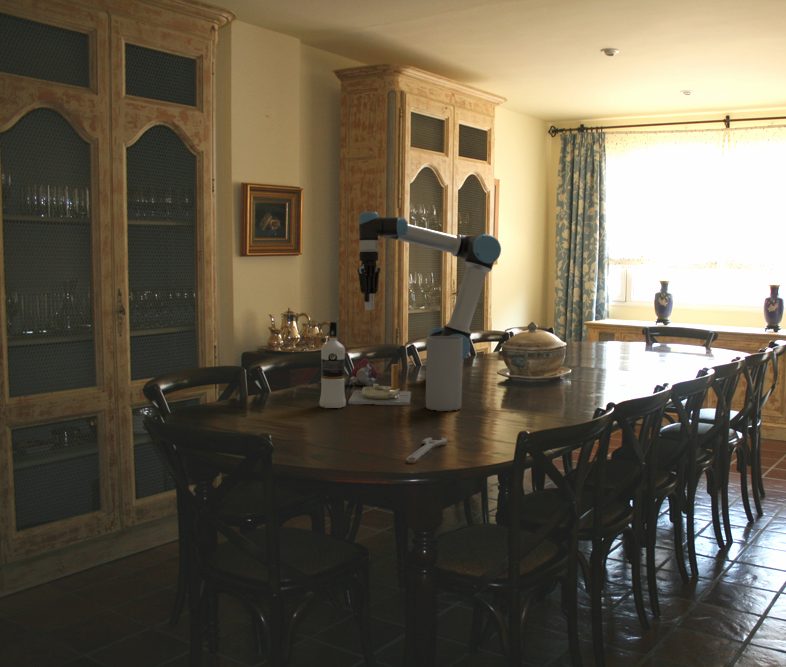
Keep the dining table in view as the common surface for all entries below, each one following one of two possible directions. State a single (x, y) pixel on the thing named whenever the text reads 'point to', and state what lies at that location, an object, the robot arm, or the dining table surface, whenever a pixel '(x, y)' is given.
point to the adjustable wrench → (426, 448)
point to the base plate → (359, 399)
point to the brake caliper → (364, 374)
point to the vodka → (332, 371)
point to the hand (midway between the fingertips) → (369, 309)
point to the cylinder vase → (444, 373)
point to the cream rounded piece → (384, 387)
